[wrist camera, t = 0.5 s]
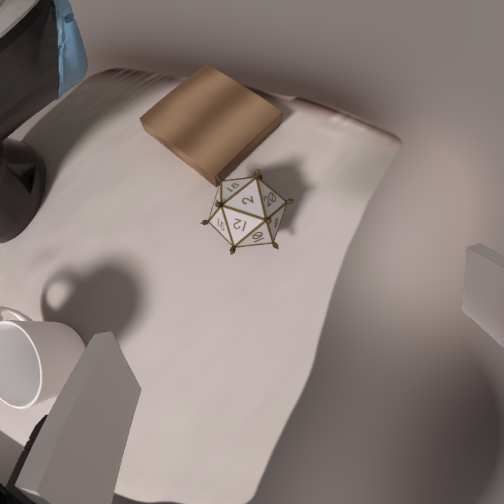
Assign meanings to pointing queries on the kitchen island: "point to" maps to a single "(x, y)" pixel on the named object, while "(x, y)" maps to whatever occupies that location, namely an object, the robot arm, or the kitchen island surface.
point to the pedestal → (211, 122)
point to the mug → (35, 359)
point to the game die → (247, 212)
